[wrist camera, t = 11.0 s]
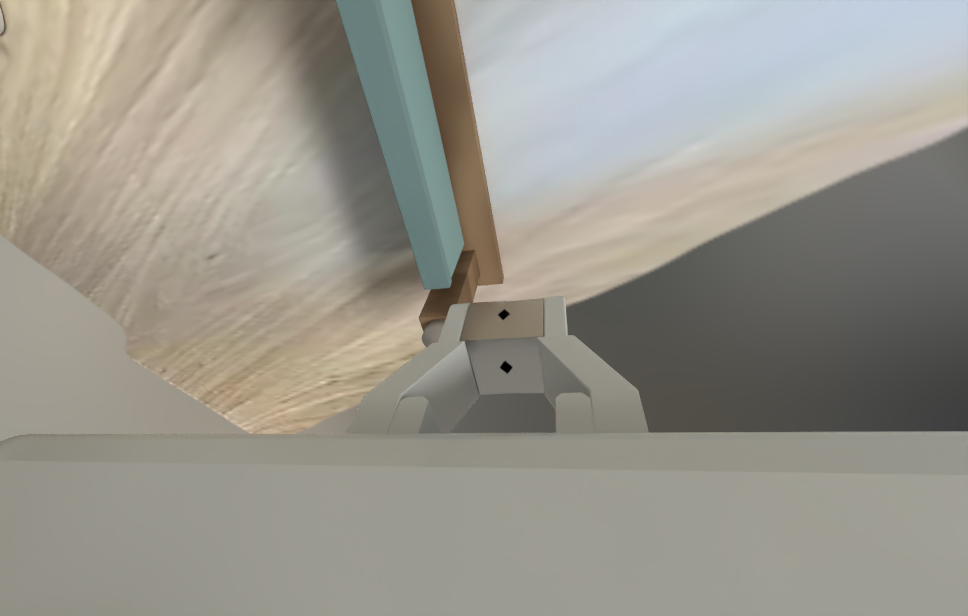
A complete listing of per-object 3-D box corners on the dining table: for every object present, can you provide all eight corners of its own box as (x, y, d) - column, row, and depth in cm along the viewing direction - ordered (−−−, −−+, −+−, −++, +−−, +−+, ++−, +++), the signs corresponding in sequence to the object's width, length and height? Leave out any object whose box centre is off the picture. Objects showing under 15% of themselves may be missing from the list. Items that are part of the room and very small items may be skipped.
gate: (363, -72, 21) (301, -103, 16) (397, -82, 21) (346, -117, 15) (443, 245, 32) (423, 289, 27) (467, 243, 31) (451, 287, 26)
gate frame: (439, 283, 36) (404, 367, 27) (314, -146, 21) (140, -271, 12) (503, 277, 34) (488, 364, 26) (421, -184, 19) (314, -358, 10)
